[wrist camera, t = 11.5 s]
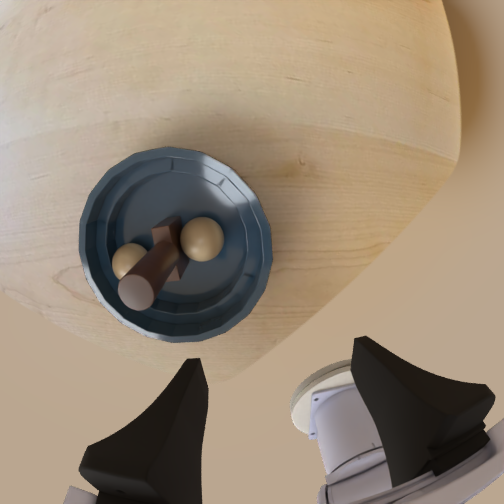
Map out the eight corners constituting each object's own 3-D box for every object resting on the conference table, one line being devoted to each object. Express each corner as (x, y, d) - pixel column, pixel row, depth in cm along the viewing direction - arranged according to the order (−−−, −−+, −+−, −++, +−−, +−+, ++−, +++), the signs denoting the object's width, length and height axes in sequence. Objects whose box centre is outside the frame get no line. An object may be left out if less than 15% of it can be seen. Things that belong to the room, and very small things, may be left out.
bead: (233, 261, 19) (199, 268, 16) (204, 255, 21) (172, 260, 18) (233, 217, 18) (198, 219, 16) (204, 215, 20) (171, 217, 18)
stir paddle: (193, 262, 20) (164, 326, 12) (170, 264, 20) (130, 328, 12) (184, 215, 19) (143, 251, 11) (161, 218, 19) (107, 257, 11)
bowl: (272, 307, 22) (278, 334, 18) (124, 318, 22) (108, 343, 18) (257, 141, 18) (261, 133, 15) (92, 170, 18) (64, 172, 14)
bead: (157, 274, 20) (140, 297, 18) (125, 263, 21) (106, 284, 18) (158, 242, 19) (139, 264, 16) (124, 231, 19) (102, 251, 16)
